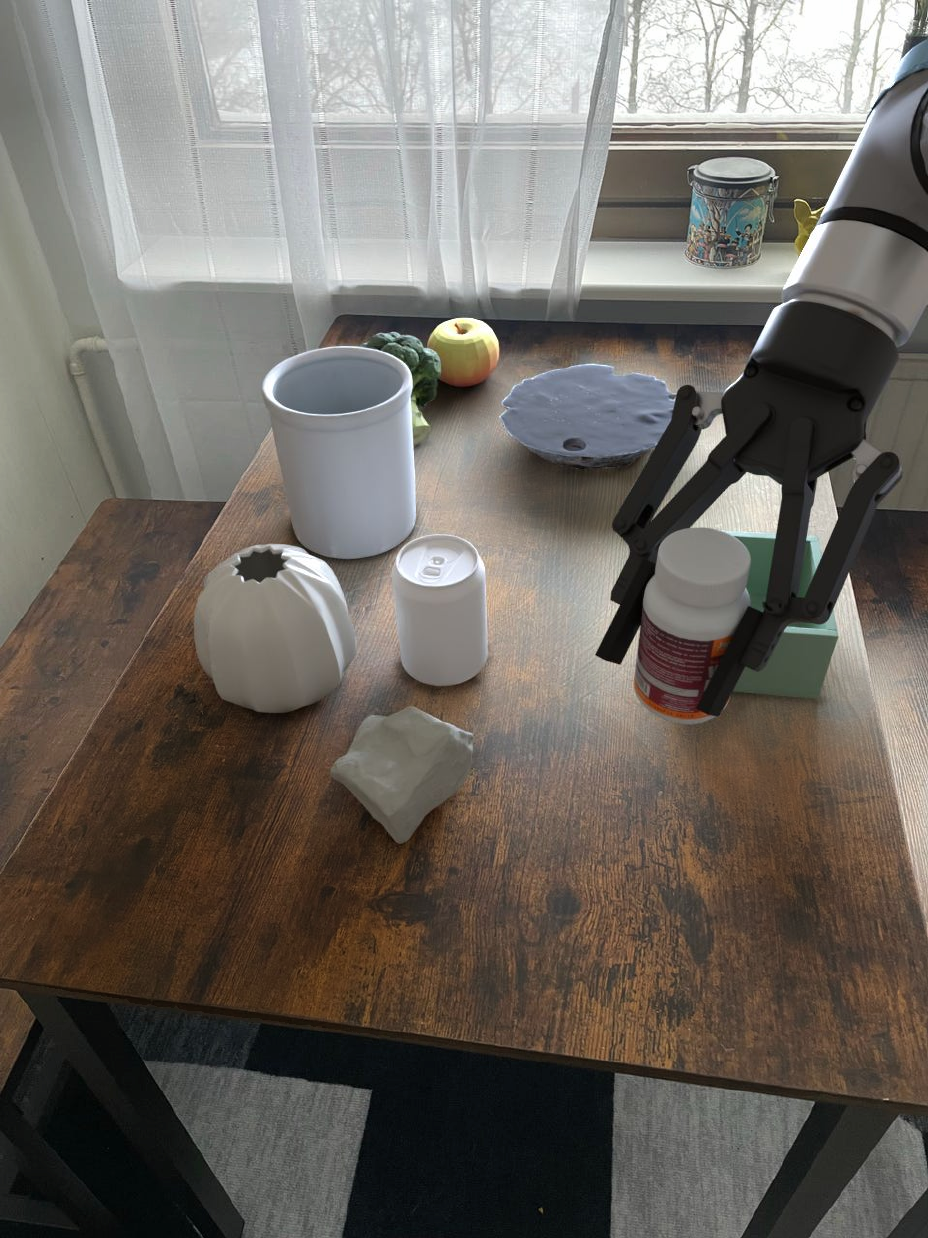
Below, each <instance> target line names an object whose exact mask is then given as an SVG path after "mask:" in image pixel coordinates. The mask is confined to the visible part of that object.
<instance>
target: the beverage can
mask: <svg viewBox="0 0 928 1238" xmlns="http://www.w3.org/2000/svg"><path fill="white" fill-rule="evenodd" d="M390 579H391V587H392V596H393V604H394V612H395V614H394V615H395V619H396V620H395V621H396V629H397V638H398V647H399V655H400V663H401V665H402V667H403V669H404V670H405V672H406V673H407V674H408V675H409V676H410V677H411V678H413V679H415V680H416V681H418V682H420V683H423V684H426V685H428V686H429V685H430V686H434V687H449V686H455V685H459V684H462V683H465V682H467V681H469V680H471V679H472V678H474V677H475V676H477V675H478V674H479V673H480V672H481V671H482V670H483V668H484V667H485V665H486V663H487V660H488V654H489V653H488V652H489V651H488V620H487V618H488V617H487V585H486V568H485V564H484V561H483V559H482V558H481V556H480V555H479V551H478V550H477V548H476V547H475V546H474V545H473V544H472V543H471V542H469V541H468V540H466V539H464V538H462V537H459V536H456V535H453V534H452V535H451V534H442V533H439V534H438V533H437V534H428V535H424V536H421V537H418V538H415V539H413V540H411V541H409V542H408V543H406V544H404V545H403V546H402V547H401V548H400V550H399V551H398V553H397V555H396V556H395V562H394V563H393V566H392V568H391V573H390Z"/></svg>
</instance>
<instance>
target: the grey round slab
mask: <svg viewBox="0 0 928 1238" xmlns="http://www.w3.org/2000/svg"><path fill="white" fill-rule="evenodd" d="M614 369H615V367H613V366H611V365H605V364H598V363H583V364H578V365H572V366H569V367H565V368H558V369H552V370H549V371H545V372H543V373H540V374H538V375H534V376H533V377H528V378H525V379H523V380H521V381H522V382H520V383H518V384H514V385H513V386H512V388H511V390H510V393H509V394H508V395H507V396H506V397H505V398H503V400H502V401H500V402H501V405H502V407H503V408H505V409H506V410H505V411H504V412H503V413H501V415H499V416H498V418H499V419H500V422H501V423H502V427H504V430H506V432H507V433H508V435H509V436H511V437H512V438H513V439H515V440H516V441H517V442H519V443H520V444H521V445H523V446H525V447H526V448H527V449H528V450H529V451H531V452H532V453H534V454H535V455H536V456H539V458H542V459H543V460H546V461H548V462H550V463H552V464H555V465H558V466H560V467H563V468H569V469H575V470H579V471H584V470H592V469H593V470H601V469H618V468H626V467H628V466H631V465H632V464H633V463H634V462H635V461H636V460H637V459H638V458H640V457H641V456H644V455H645V454H647V453H649V452H650V451H653V450H654V449H655V447H656V445H657V444H658V442H659V440H660V438H661V437H662V435H663V433H664V432H665V430H666V428H667V426H668V425H669V423H670V421H671V418H672V413H673V408H674V403H675V399H676V394H677V393H674V392H672V391H670V390H669V389H668V383H667V382H666V381H664V380H662V379H657V376H655V375H647V374H643V373H640V372H631V373H630V372H629V373H627V374H624V375H616V374H614Z"/></svg>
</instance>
